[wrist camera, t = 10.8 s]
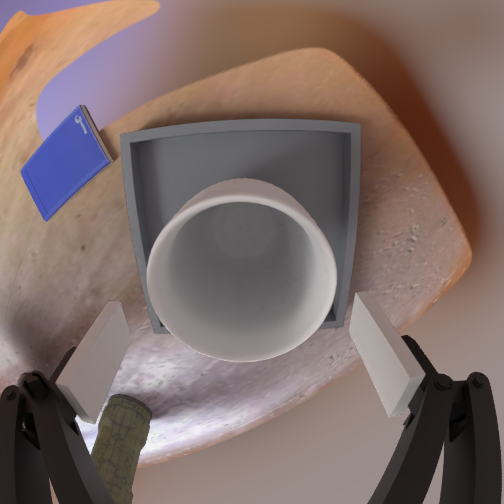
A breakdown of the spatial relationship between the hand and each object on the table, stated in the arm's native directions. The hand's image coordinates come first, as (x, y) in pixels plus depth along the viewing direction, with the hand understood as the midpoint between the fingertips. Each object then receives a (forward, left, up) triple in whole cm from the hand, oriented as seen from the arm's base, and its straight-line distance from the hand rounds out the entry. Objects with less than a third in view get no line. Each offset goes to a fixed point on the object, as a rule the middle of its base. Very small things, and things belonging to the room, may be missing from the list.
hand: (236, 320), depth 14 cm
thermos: (-23, -33, -15) cm, 43 cm away
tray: (0, 0, -15) cm, 15 cm away
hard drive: (-21, +10, -16) cm, 28 cm away
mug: (0, 0, -14) cm, 14 cm away
